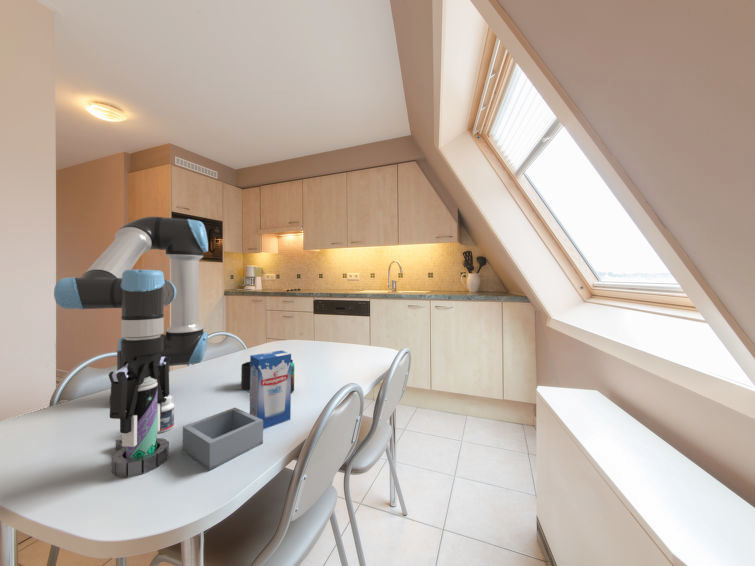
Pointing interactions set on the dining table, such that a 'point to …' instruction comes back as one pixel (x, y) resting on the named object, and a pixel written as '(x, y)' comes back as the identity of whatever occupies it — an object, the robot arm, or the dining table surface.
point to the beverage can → (292, 376)
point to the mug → (245, 376)
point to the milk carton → (270, 387)
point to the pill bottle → (167, 415)
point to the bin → (222, 437)
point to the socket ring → (138, 460)
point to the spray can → (145, 420)
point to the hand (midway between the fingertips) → (142, 437)
